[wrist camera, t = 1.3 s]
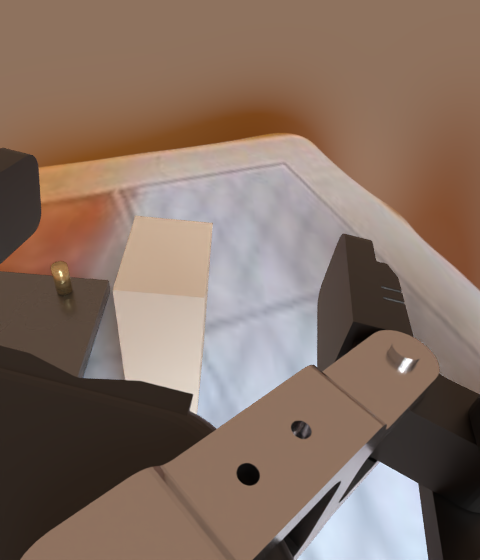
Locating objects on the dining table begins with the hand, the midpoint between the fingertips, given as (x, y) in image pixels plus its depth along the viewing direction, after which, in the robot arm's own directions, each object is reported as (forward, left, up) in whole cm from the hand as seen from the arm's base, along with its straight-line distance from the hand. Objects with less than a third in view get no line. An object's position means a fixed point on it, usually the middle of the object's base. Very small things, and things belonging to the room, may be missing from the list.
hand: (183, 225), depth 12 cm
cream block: (+2, -9, -21) cm, 23 cm away
